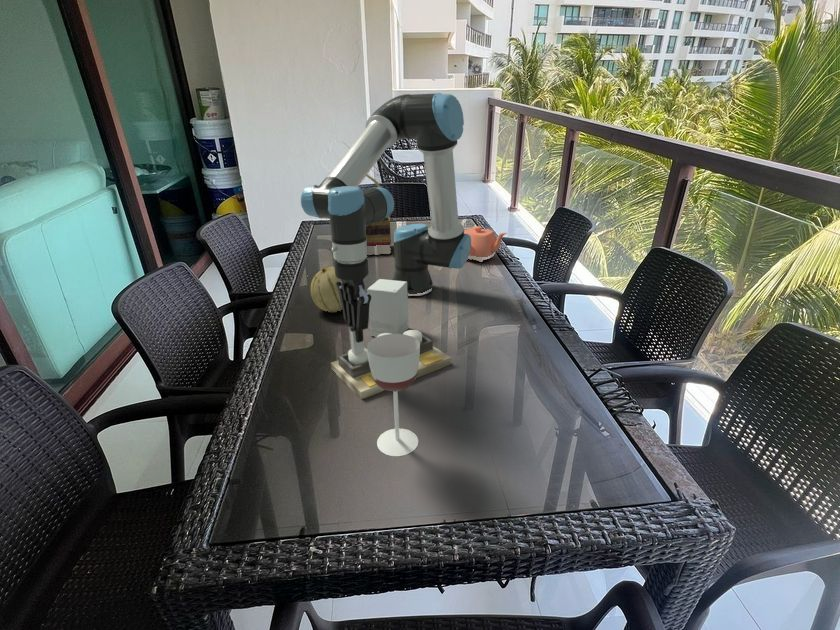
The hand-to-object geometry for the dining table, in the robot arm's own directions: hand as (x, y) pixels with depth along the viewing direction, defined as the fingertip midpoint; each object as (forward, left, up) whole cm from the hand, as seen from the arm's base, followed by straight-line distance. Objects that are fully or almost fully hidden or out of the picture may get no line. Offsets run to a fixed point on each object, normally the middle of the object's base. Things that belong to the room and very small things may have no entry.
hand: (358, 351), depth 113 cm
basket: (-91, +50, -7) cm, 104 cm away
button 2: (0, +8, -2) cm, 8 cm away
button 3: (0, +16, -4) cm, 17 cm away
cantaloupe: (-39, +12, -7) cm, 41 cm away
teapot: (-51, +84, -7) cm, 99 cm away
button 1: (0, 0, -4) cm, 4 cm away
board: (+2, +8, -6) cm, 11 cm away
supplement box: (-15, +18, -7) cm, 24 cm away
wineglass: (+27, -6, -7) cm, 28 cm away
